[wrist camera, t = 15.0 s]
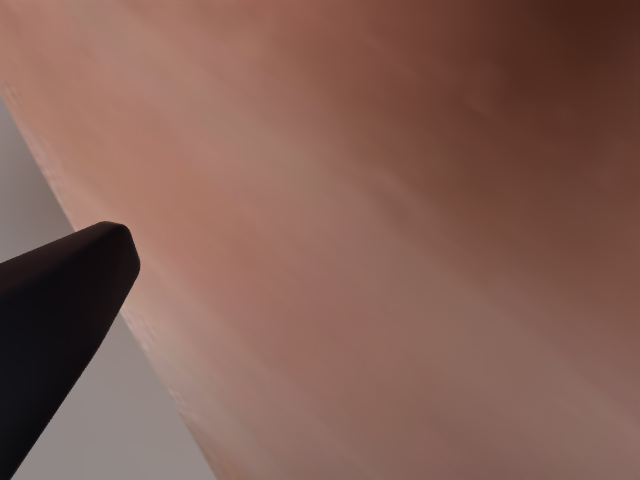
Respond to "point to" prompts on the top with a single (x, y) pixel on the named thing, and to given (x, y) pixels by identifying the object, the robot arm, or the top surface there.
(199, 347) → the top surface
